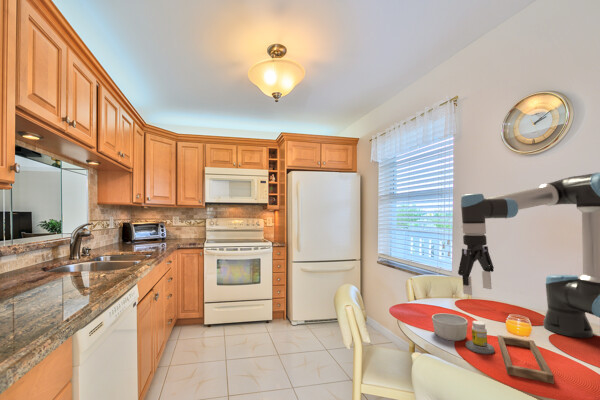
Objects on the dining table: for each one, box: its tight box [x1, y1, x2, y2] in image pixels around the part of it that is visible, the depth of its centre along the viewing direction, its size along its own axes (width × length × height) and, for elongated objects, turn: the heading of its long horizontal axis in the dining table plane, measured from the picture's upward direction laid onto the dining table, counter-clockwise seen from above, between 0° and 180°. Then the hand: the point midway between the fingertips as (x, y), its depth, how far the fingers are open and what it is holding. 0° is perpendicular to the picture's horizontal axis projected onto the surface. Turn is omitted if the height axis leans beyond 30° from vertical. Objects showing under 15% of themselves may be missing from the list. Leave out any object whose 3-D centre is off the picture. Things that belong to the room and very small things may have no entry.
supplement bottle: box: [471, 320, 488, 348], centre depth 105 cm, size 5×5×8 cm
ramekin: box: [431, 312, 469, 342], centre depth 117 cm, size 13×13×7 cm
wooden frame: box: [497, 334, 555, 385], centre depth 97 cm, size 11×26×2 cm, turn 151°
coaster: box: [465, 339, 495, 355], centre depth 105 cm, size 9×9×1 cm
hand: (477, 291), depth 106 cm, fingers open, 13 cm apart
